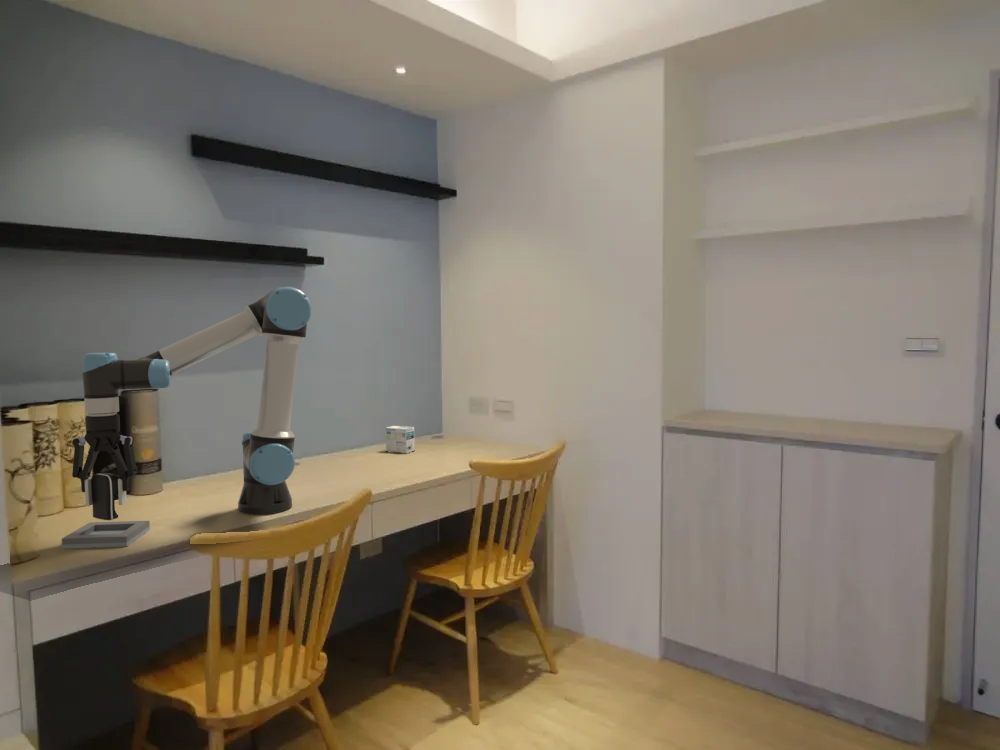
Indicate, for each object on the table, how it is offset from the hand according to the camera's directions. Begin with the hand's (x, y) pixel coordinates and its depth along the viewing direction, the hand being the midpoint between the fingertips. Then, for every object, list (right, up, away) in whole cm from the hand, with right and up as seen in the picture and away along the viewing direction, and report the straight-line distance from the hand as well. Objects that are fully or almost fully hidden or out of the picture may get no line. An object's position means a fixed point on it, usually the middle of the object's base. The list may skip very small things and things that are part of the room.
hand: (106, 503), depth 176 cm
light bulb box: (+57, 0, +122) cm, 134 cm away
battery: (0, -4, 0) cm, 4 cm away
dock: (0, -9, +1) cm, 9 cm away
